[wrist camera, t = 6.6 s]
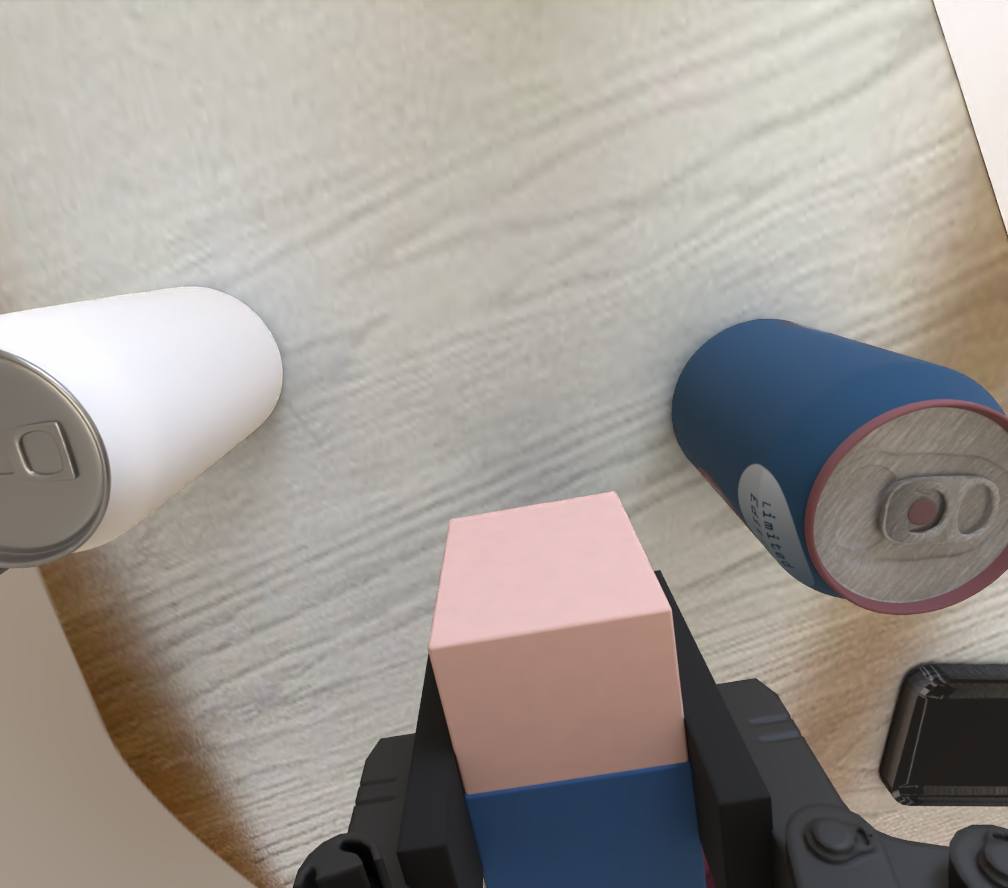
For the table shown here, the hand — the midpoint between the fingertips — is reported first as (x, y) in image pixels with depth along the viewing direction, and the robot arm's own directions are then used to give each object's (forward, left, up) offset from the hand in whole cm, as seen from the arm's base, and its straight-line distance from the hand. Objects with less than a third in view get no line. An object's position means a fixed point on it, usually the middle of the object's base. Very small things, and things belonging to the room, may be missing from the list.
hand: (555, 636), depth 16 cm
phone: (+23, -18, -13) cm, 33 cm away
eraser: (0, 0, 0) cm, 0 cm away
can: (-13, +7, -13) cm, 19 cm away
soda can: (+9, +2, -13) cm, 16 cm away
